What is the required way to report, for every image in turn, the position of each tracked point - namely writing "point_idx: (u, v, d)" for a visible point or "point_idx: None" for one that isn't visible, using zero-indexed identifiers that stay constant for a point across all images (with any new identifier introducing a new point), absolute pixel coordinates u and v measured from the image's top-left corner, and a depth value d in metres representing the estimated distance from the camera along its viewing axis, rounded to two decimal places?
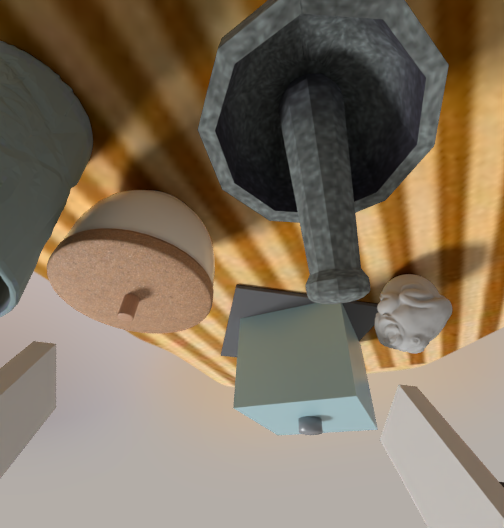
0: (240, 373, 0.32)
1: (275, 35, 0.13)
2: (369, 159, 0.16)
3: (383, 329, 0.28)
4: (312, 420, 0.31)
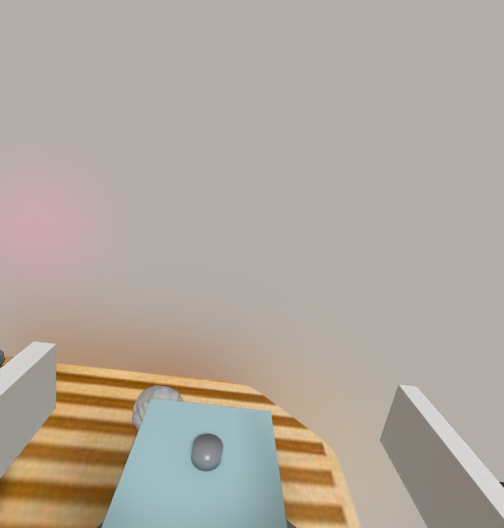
0: None
1: None
2: None
3: None
4: None
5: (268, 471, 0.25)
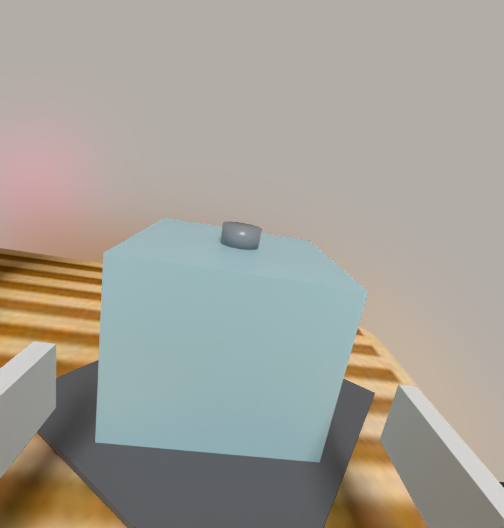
0: None
1: None
2: None
3: None
4: None
5: (319, 259, 0.19)
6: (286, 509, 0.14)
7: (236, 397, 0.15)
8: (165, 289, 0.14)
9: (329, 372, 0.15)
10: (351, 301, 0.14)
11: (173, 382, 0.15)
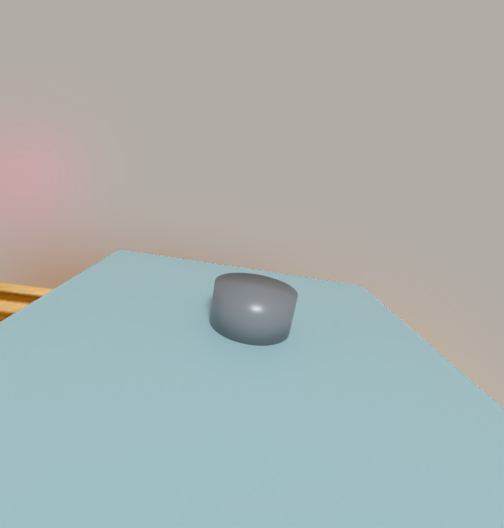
0: None
1: None
2: None
3: None
4: None
5: (421, 357, 0.09)
6: None
7: None
8: None
9: None
10: None
11: None
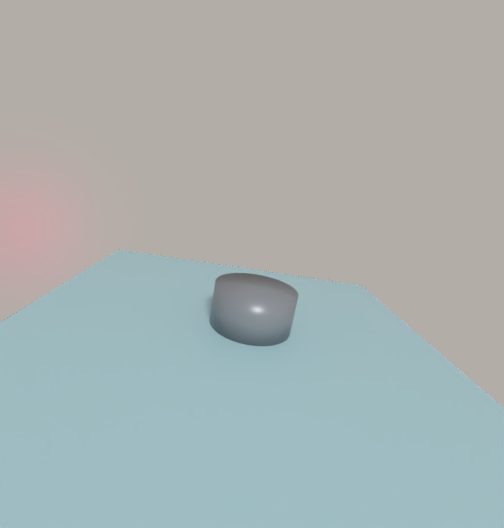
0: None
1: None
2: None
3: None
4: None
5: (422, 358, 0.09)
6: None
7: None
8: None
9: None
10: None
11: None
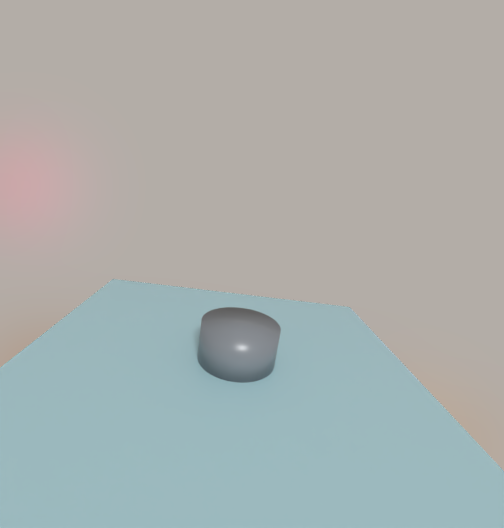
0: None
1: None
2: None
3: None
4: None
5: (400, 387, 0.09)
6: None
7: None
8: None
9: None
10: None
11: None
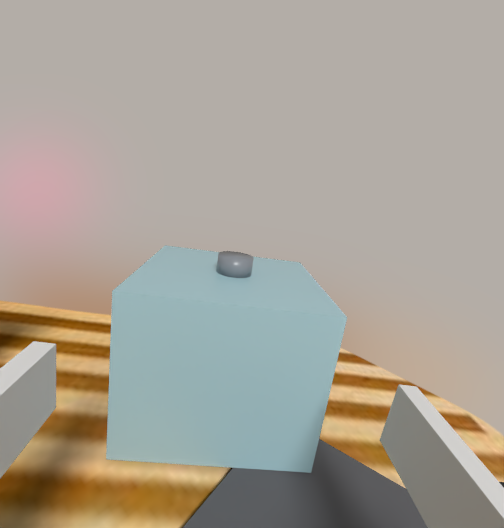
0: None
1: None
2: None
3: None
4: None
5: (307, 284, 0.21)
6: None
7: (233, 415, 0.17)
8: (167, 321, 0.15)
9: (316, 390, 0.17)
10: (332, 327, 0.16)
11: (176, 403, 0.17)
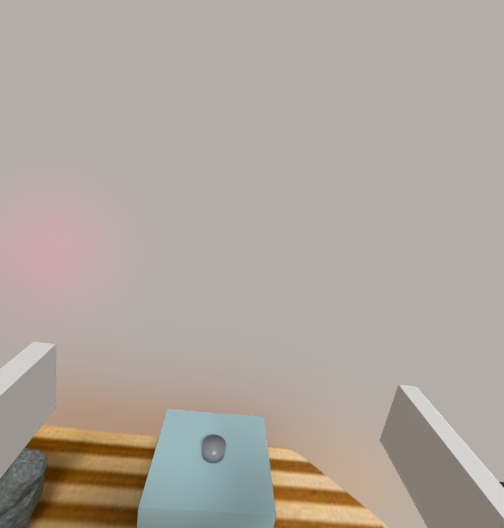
0: None
1: None
2: None
3: None
4: None
5: (261, 462, 0.32)
6: None
7: None
8: (169, 520, 0.27)
9: None
10: (267, 519, 0.27)
11: None
